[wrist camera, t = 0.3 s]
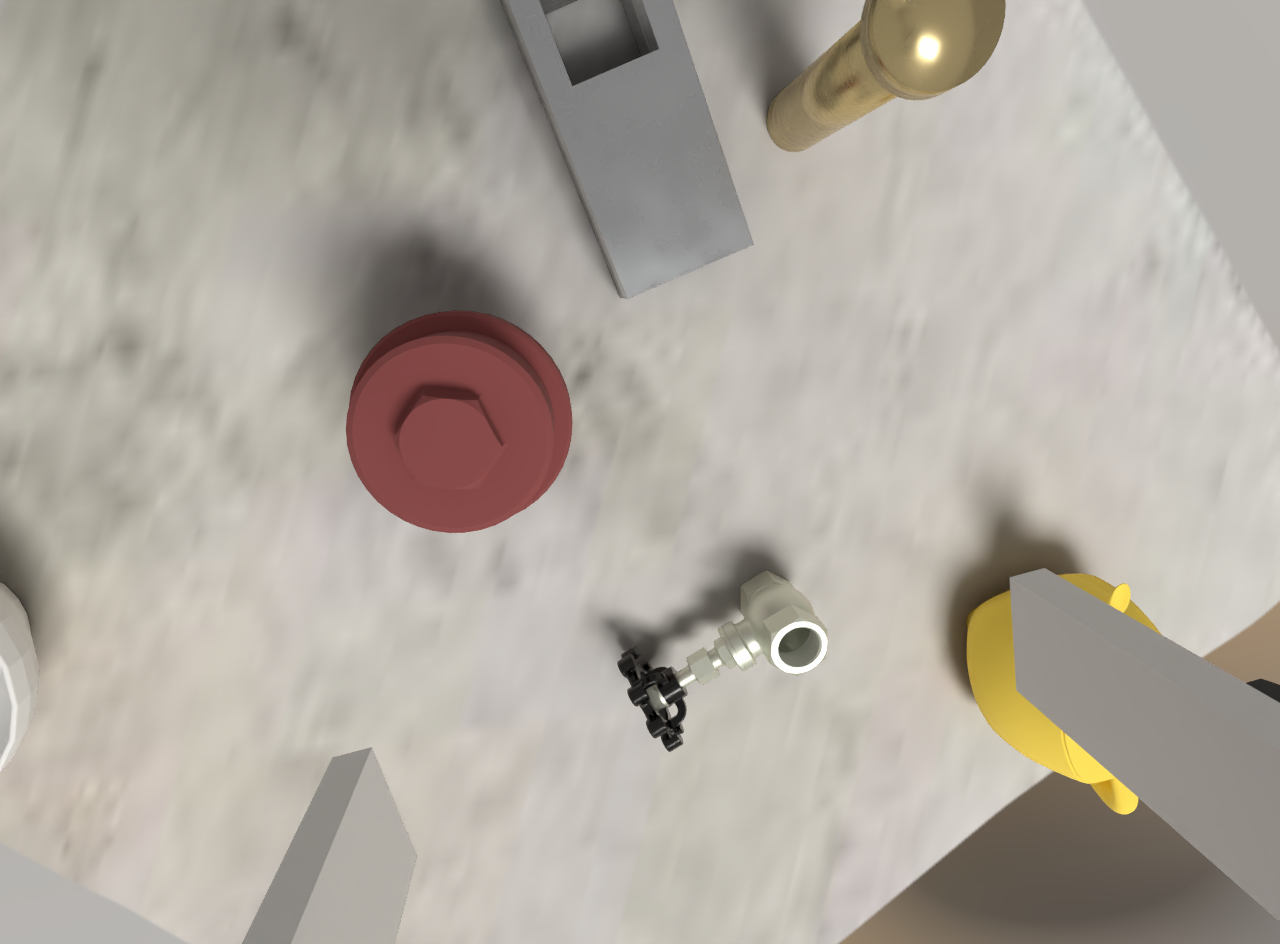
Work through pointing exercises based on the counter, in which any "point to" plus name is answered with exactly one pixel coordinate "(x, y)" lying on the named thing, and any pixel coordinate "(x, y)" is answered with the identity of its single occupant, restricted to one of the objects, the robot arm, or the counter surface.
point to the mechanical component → (458, 421)
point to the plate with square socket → (638, 147)
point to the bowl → (15, 675)
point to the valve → (731, 652)
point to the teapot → (1015, 713)
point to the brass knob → (886, 65)
